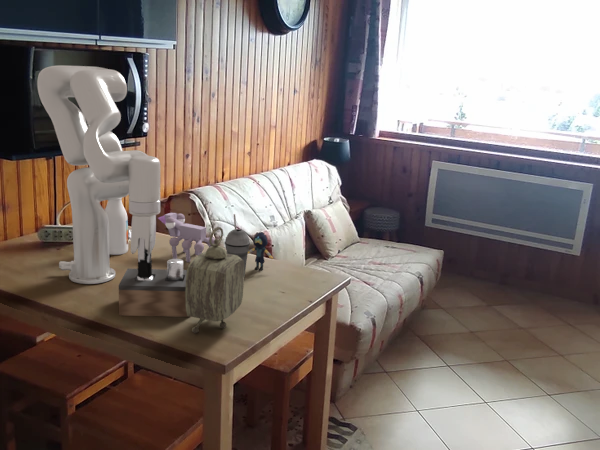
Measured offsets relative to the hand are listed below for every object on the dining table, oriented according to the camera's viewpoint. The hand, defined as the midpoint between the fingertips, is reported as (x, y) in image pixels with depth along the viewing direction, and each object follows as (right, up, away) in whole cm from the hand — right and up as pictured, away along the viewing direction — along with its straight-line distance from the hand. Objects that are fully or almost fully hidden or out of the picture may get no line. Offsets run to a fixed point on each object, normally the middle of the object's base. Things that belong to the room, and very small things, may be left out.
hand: (144, 275), depth 155 cm
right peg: (+7, -4, +2) cm, 8 cm away
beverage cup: (+21, -4, +24) cm, 32 cm away
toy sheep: (+2, +3, +42) cm, 42 cm away
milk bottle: (-20, +4, +42) cm, 46 cm away
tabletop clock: (+19, -12, -7) cm, 23 cm away
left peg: (0, -8, +2) cm, 8 cm away
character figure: (+27, -1, +34) cm, 43 cm away
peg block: (+3, -8, +3) cm, 9 cm away
